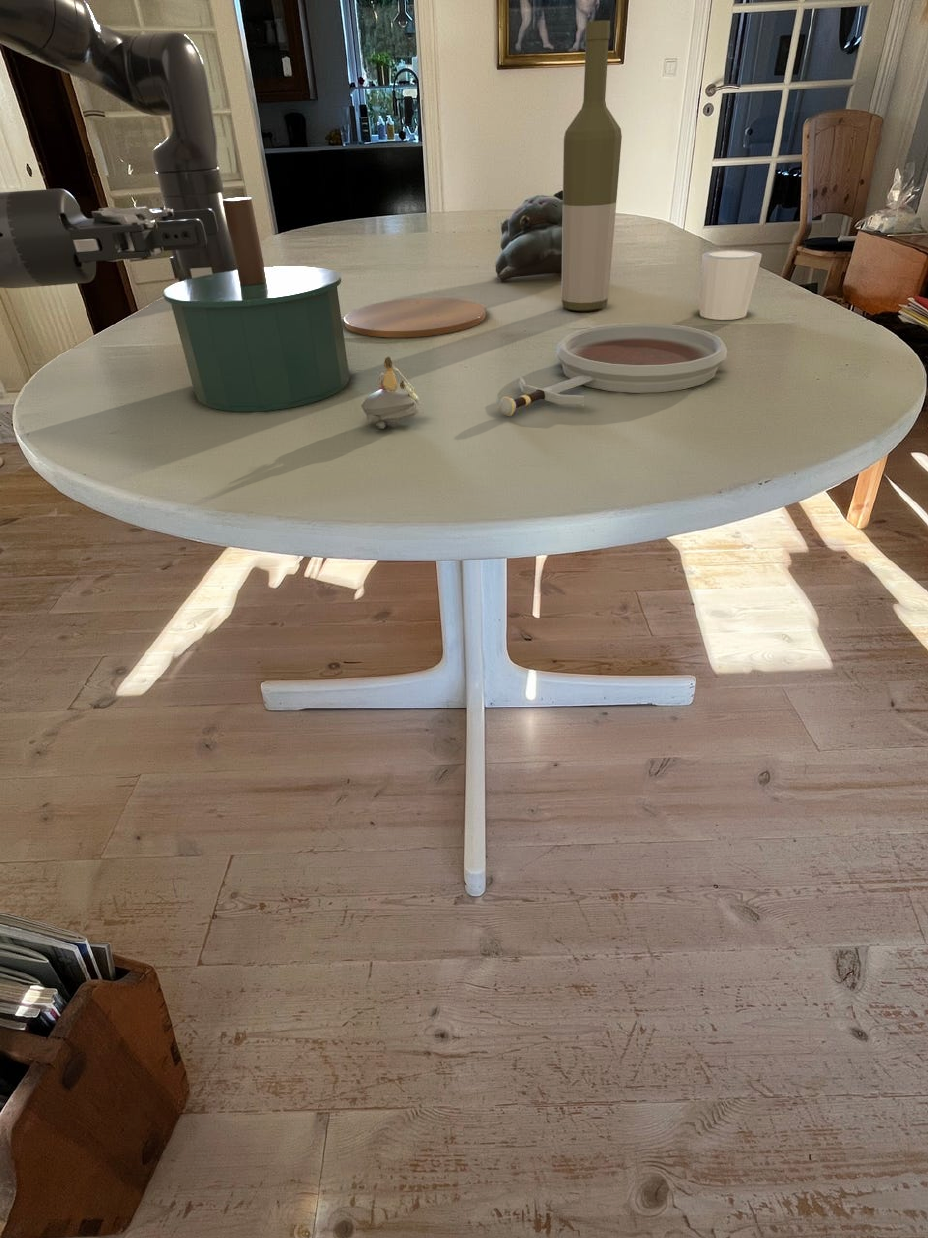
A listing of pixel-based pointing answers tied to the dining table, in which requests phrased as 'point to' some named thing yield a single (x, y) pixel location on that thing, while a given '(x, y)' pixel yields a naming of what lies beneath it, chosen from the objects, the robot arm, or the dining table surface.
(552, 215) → the grey lumpy animal shape
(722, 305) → the white cup
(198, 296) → the lid
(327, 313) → the pot
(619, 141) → the bottle
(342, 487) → the dining table surface
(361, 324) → the trivet
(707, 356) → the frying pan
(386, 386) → the figurine
